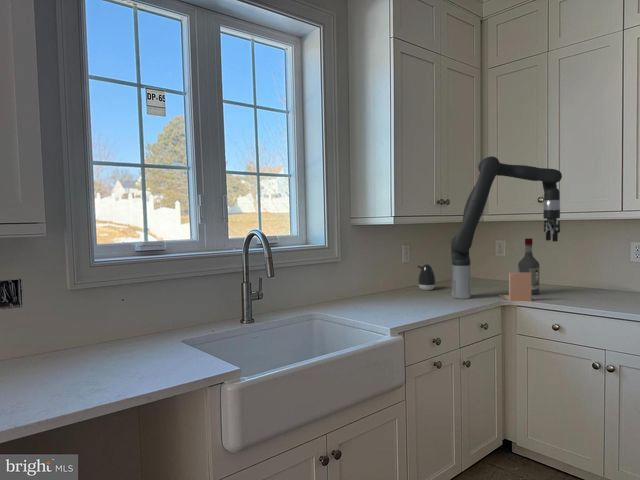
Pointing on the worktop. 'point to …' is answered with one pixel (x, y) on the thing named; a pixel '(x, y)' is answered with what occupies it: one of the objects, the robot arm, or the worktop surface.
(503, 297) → the mat
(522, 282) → the tile
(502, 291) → the worktop surface
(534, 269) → the liquor
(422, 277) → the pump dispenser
